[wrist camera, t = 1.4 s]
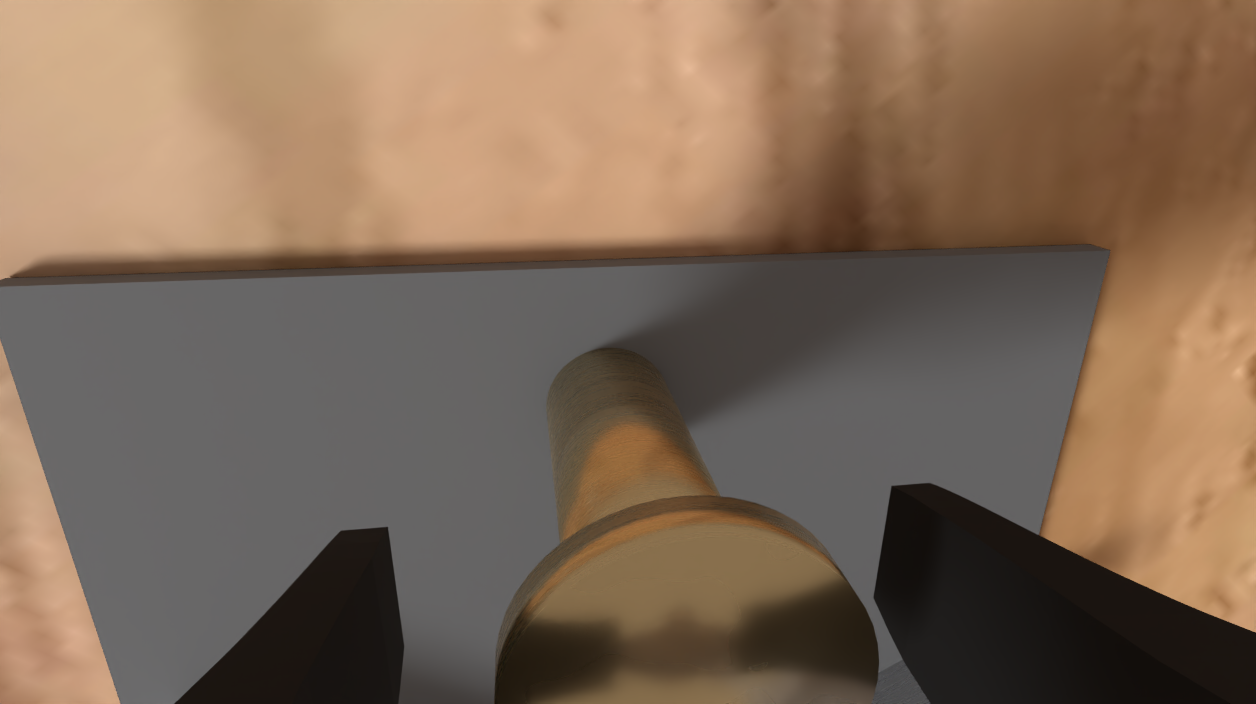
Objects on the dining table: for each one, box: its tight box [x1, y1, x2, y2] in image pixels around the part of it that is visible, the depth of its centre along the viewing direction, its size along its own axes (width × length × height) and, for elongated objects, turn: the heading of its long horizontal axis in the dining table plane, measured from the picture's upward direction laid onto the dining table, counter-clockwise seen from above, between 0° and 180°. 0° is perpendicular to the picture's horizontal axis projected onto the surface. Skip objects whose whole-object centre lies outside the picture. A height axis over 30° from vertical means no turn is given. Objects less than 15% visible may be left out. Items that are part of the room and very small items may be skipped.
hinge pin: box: [494, 348, 879, 704], centre depth 12 cm, size 4×4×8 cm
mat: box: [0, 244, 1110, 704], centre depth 18 cm, size 22×20×1 cm
